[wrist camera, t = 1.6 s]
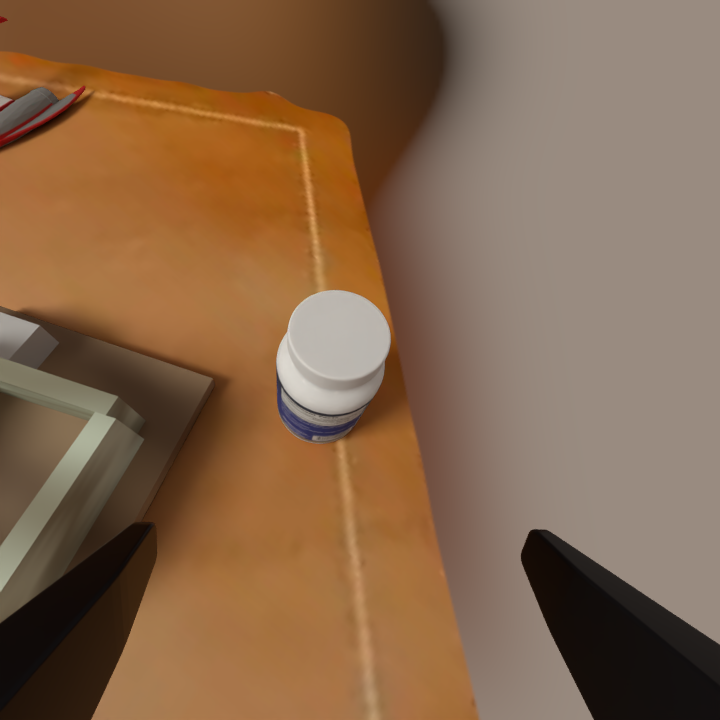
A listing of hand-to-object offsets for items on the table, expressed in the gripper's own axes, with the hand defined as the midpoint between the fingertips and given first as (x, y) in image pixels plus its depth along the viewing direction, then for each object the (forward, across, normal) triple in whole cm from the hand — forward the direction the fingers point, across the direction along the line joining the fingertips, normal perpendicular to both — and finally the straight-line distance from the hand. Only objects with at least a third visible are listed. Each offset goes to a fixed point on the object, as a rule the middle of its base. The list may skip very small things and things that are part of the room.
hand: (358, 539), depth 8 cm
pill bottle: (+16, 0, +4) cm, 16 cm away
